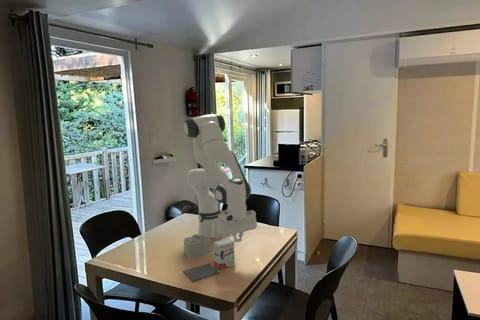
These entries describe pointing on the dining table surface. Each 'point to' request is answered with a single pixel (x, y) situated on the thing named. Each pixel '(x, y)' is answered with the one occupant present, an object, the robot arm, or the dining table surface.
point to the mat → (201, 272)
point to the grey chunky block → (196, 246)
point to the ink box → (224, 254)
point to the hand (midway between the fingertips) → (237, 241)
